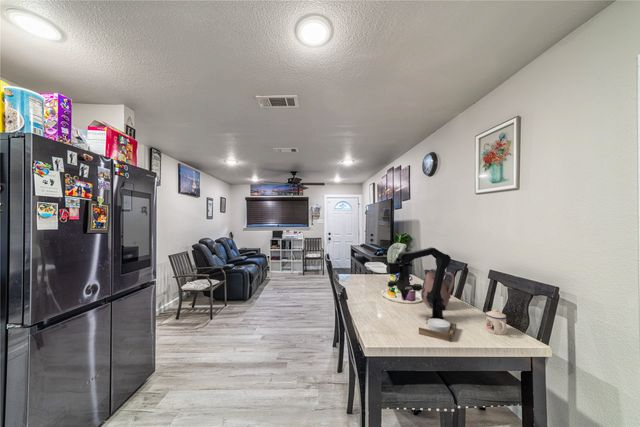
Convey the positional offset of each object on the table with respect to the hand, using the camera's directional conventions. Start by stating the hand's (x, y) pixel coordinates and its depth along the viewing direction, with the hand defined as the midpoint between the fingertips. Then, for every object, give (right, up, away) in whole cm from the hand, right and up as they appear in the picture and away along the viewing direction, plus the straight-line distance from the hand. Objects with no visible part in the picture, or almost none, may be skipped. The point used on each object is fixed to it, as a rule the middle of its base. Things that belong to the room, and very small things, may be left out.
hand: (404, 300), depth 151 cm
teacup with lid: (+43, -11, -18) cm, 48 cm away
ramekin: (+12, -12, -17) cm, 24 cm away
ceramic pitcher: (+30, -13, +22) cm, 40 cm away
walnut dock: (+12, -11, -16) cm, 23 cm away
